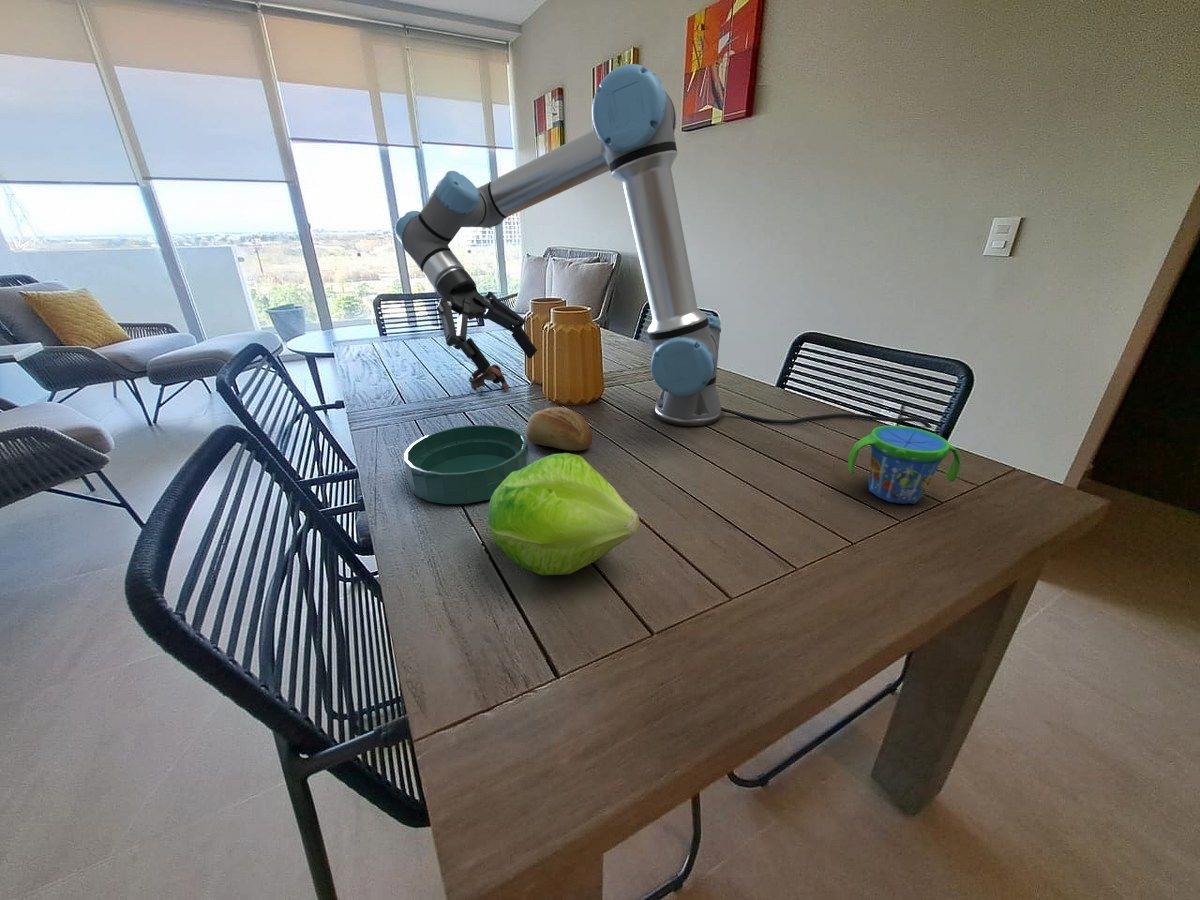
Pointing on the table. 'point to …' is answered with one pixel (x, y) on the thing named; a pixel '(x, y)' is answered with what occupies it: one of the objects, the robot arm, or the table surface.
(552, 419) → the bread roll
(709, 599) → the table surface
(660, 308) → the robot arm
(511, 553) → the lettuce
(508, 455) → the bowl
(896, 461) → the snack cup
